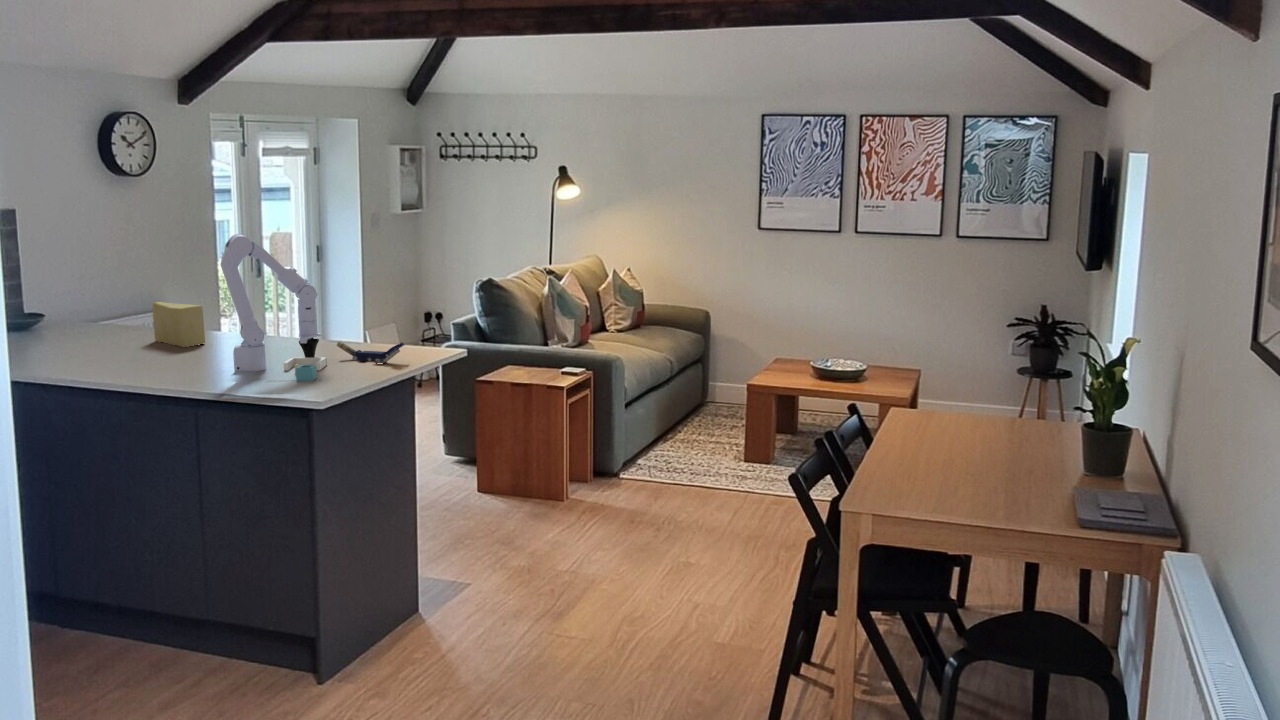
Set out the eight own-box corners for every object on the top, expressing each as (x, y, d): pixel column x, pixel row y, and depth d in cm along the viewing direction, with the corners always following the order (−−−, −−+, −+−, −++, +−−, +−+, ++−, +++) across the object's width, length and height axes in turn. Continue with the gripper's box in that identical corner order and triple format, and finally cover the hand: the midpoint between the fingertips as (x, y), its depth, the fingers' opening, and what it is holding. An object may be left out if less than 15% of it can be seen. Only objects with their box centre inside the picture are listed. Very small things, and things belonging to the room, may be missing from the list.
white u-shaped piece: (284, 370, 363) (283, 362, 362) (291, 365, 372) (291, 357, 371) (320, 370, 363) (319, 362, 363) (326, 364, 372) (326, 357, 372)
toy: (390, 375, 375) (395, 346, 373) (328, 358, 378) (333, 329, 376) (402, 369, 384) (407, 341, 382) (342, 353, 388) (346, 324, 385)
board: (264, 385, 347) (263, 372, 346) (289, 367, 374) (288, 355, 373) (321, 384, 347) (320, 371, 346) (341, 366, 374) (340, 354, 373)
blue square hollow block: (296, 381, 347) (295, 368, 347) (300, 377, 352) (300, 365, 351) (313, 380, 347) (312, 368, 347) (317, 377, 352) (316, 364, 352)
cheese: (144, 343, 421) (141, 303, 418) (167, 339, 429) (164, 300, 426) (183, 348, 409) (180, 307, 406) (206, 344, 417) (203, 304, 415)
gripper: (314, 323, 364) (317, 365, 366) (325, 317, 378) (327, 357, 380) (292, 324, 363) (294, 365, 366) (303, 317, 378) (306, 357, 380)
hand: (310, 361), depth 373 cm, fingers closed
